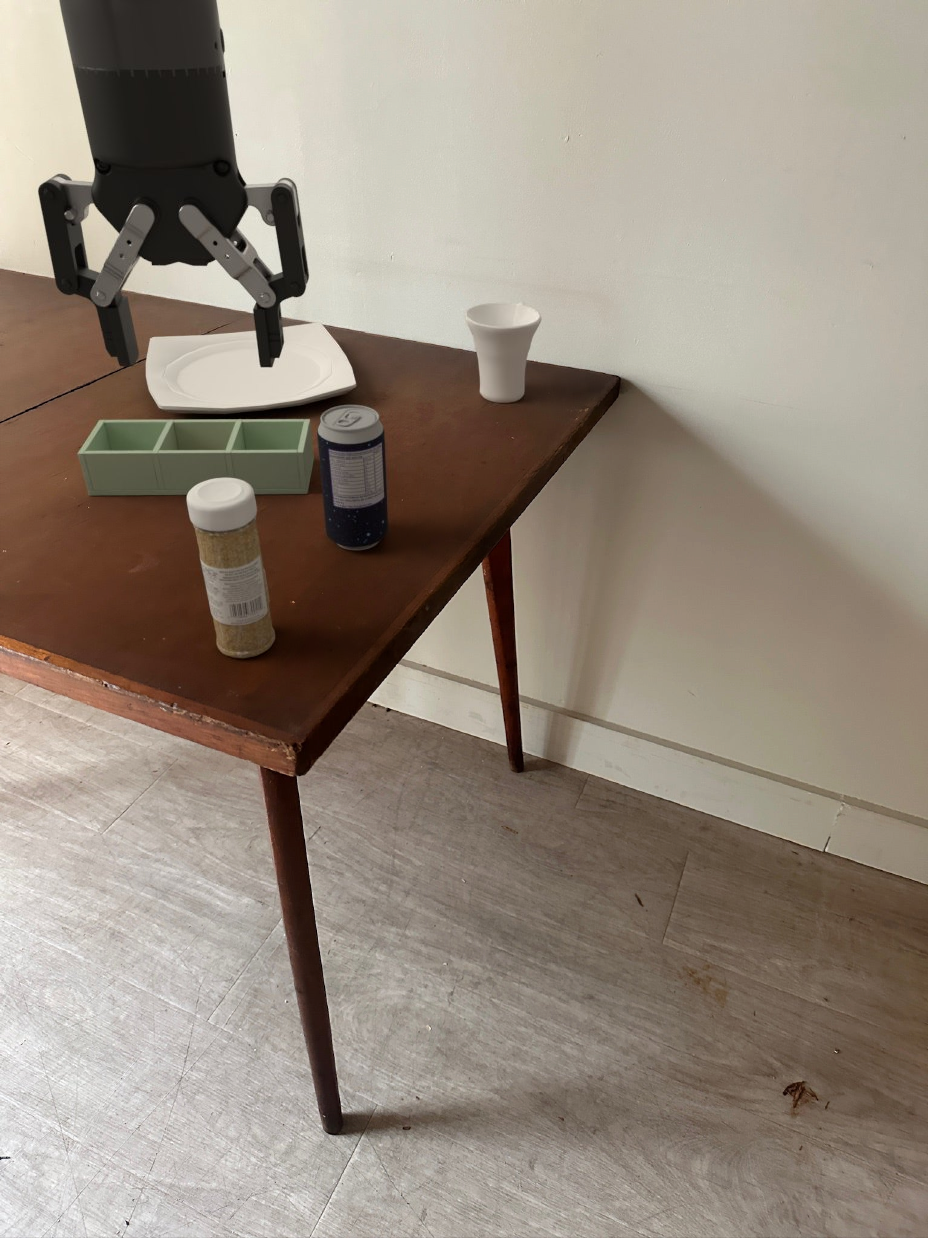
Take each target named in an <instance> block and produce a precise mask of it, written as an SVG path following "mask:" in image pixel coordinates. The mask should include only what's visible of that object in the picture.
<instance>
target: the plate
mask: <svg viewBox="0 0 928 1238" xmlns="http://www.w3.org/2000/svg"><path fill="white" fill-rule="evenodd" d="M283 335H284V345H283V348H282V351H281V354H280V358H275V360H274V364H273V367H260V362H259V354H258V346H257V338H256V330H249V331H238V332H226V333H225V332H224V333H214V334H213V333H212V334H199V335H197V334H196V335H172V336H169V335H168V336H153V337H151V338H149V343H148V349H147V354H146V359H145V380H146V384H147V388H148V392H149V393H150V395H151V398H152V399H153V400H154V402H155V403H156V405H157V407H158V409H161V410H162V411H164V412H167V413H169V414H203V415H204V414H205V415H206V414H209V415H227V414H237V413H247V412H248V413H249V412H263V411H268V410H274V409H282V408H283V409H284V408H289V407H291V408H292V407H297V406H303V405H307V404H312V403H315V402H319V401H323V400H327V399H331V398H334V397H337V396H338V397H339V396H343V395H347V394H348V393H349V392H351V391H352V390H354V389H355V388H356V387H357V382H356V378H355V375H354V370H353V367H352V365H351V363H350V361H349V359H348V357H347V355H346V353H345V352H344V351H343V349H342V348H341V346H340V345H339V344H338V342H337V341H336V340H335V338H334V337H333V336H332V335H331V334H330V333H329V331H328V330H327V329H326V328H325V326H324V325H323V324H322V323H321V322H311V323H303V324H297V325H289V326H284V327H283Z"/></svg>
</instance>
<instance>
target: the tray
mask: <svg viewBox="0 0 928 1238" xmlns="http://www.w3.org/2000/svg"><path fill="white" fill-rule="evenodd" d="M313 444H314V443H313V436H312V425H311V419H310V418H285V419H284V418H271V419H270V418H262V419H261V418H258V419H257V418H256V419H253V418H252V419H250V418H246V419H242V418H239V419H235V418H234V419H231V418H229V419H225V418H224V419H221V418H220V419H218V418H217V419H99V420H98V422H97V423H96V425H94V428H93V429H92V431H91V432H90V434H89V435H88V437H87V439H86V440H85V442H84V443H83V444H82V446H81V447H80V449H79V451H78V452H77V456H78V460H79V464H80V467H81V472H82V475H83V478H84V482H85V484H86V489H87V493H88V496H89V497H91V496H92V497H94V496H95V497H97V496H98V497H99V496H100V497H101V496H103V497H104V496H105V497H106V496H108V497H109V496H187V494H188V492H189V491H190V490H191V489H192V488H193V487H194V486H195V485H197V484H199V483H201V482H204V481H207V480H210V479H215V478H236V479H240V480H243V481H245V482H247V483H248V484H250V485H251V487H252V488H253V491H254V495H307V494H308V493H309V487H310V482H311V476H312V471H313V466H314V461H315V459H314V458H315V456H314V448H313V447H314V446H313Z"/></svg>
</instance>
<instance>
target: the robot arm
mask: <svg viewBox="0 0 928 1238" xmlns="http://www.w3.org/2000/svg"><path fill="white" fill-rule="evenodd" d="M217 1H218V0H58V3H59V6H60V12H61V17H62V22H63V26H64V30H65V36H66V41H67V45H68V50H69V55H70V61H71V64H72V69H73V74H74V79H75V83H76V88H77V92H78V96H79V102H80V106H81V111H82V116H83V120H84V125H85V130H86V134H87V135H86V136H87V139H88V144H89V148H90V154H91V157H92V161H93V166H94V177H93V181H86V180H85V181H84V180H73V179H72V178H71V177H70V176H69V175H67V174H65V173H57V174H55V175H54V176H52V177H50V178H49V179H47V180H46V181H44V182H42V183H41V184H40V185H39V186H38V189H37V194H38V199H39V204H40V209H41V214H42V220H43V225H44V230H45V236H46V240H47V246H48V250H49V255H50V262H51V266H52V272H53V276H54V281H55V285H56V288H57V289H58V291H59V292H60V293H62V294H63V295H66V296H73V295H77V296H79V297H82V298H85V299H87V300H89V301H90V302H91V303H92V304H93V305H94V307H95V309H96V313H97V317H98V322H99V326H100V330H101V332H102V339H103V342H104V343H103V344H104V348H105V350H106V351H107V353H108V355H109V356H110V358H116V359H117V362H118V365H119V367H134V366H135V364H136V363H137V361H138V360H139V357H140V351H139V345H138V341H137V340H138V339H137V335H136V331H135V325H134V322H133V317H132V312H131V306H130V303H129V297H128V296H127V295H126V296H125V295H123V294H122V293H123V292H122V290H123V288H124V286H125V285H126V282H127V281H128V279H129V277H130V276H131V274H132V272H133V271H134V268H135V267H136V265H137V264H138V263H139V260H140V259H143V260H145V261H147V262H150V264H151V266H154V267H155V266H156V267H157V266H158V267H160V266H161V267H162V266H163V267H165V266H169V265H172V264H173V265H174V264H176V263H180V264H181V263H182V264H184V265H189V266H192V267H207V266H208V265H209V264H210V263H213V262H215V261H216V262H217V263H218V264H219V265H220V266H221V267H222V268H223V270H224V271H225V272H226V273H227V274H228V276H230V277H231V278H232V279H233V280H235V281H237V282H238V283H239V284H240V285H241V286H242V287H243V288H244V290H245V291H246V292H247V293H248V294H249V295H250V297H251V298H252V299H253V300H254V301H255V304H254V306H253V308H252V313H253V321H254V329H255V330H254V331H256V338H257V346H258V354H259V362H260V367H273V364H274V360H275V358H280V354H281V351H282V348H283V345H284V335H283V316H282V315H283V314H282V306H281V303H282V302H284V301H285V300H288V299H290V298H291V299H292V298H300V297H302V296H304V294H305V292H306V289H307V284H308V282H309V279H310V271H309V264H308V257H307V251H306V243H305V237H304V236H305V235H304V229H303V222H302V215H301V208H300V203H299V202H300V201H299V194H298V188H297V184H296V183H295V181H294V180H292V179H291V178H289V177H281V178H280V179H279V180H278V181H277V182H271V183H270V182H269V183H253V184H250V183H249V184H247V182H246V181H245V179H244V177H243V176H242V173H241V172H240V170H239V166H238V161H237V153H236V145H235V138H234V137H235V135H234V130H233V129H234V128H233V121H232V112H231V106H230V97H229V89H228V79H227V72H226V63H225V52H226V47H225V38H224V31H223V29H222V27H221V21H220V13H219V9H218V2H217ZM92 204H93V205H94V207H95V208H96V210H97V211H98V212H99V213H100V214H101V216H103V217H104V219H105V220H106V221H107V222H108V223H109V225H111V226H112V227H113V229H114V230H115V232H117V234H118V236H117V238H116V240H115V242H114V243H113V246H112V248H111V250H110V251H109V253H108V255H107V257H106V259H105V261H104V263H103V267H102V268H101V270H100V271H96V270H93V269H90V267H89V263H88V262H89V261H88V256H87V255H88V254H87V250H86V244H85V239H84V233H83V228H82V227H83V226H82V223H83V221H84V220H86V219H87V218H88V216H89V213H90V205H92ZM249 207H253V208H255V209H256V210H257V211H258V212H259V214H260V217H261V220H262V221H263V222H264V223H265V224H266V225H267V226H269V227H274V228H275V234H276V235H275V236H276V240H277V247H278V253H279V259H280V266H281V271H280V272H278V273H275V274H274V273H273V271H271V269H270V268H269V267H268V266H267V264H266V263H265V262H264V261H263V260H262V259H261V258H260V256H259V253H258V251H257V249H256V248H255V246H253V244H252V243H251V242H250V240H249V239H248V238H247V237H246V236H245V234H244V233H243V232H242V231H241V230H240V229H239V228H238V226H239V224H240V222H241V221H242V219H243V218H244V215H245V214H246V212H247V211H248V209H249Z"/></svg>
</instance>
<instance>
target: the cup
mask: <svg viewBox="0 0 928 1238" xmlns="http://www.w3.org/2000/svg"><path fill="white" fill-rule="evenodd" d="M464 318H465V322H466V324H467V326H468V329H469V331H470V334H471V335H472V339H473V344H474V349H475V352H476V356H477V362H478V372H479V373H478V374H479V394H480V396H482V398H483V399H485V400H487V401H490V402H494V403H499V404H500V403H501V404H508V403H515V402H517V401H519V400H521V399H522V398H524V395H525V391H526V390H525V388H526V386H525V383H526V381H525V380H526V368H527V367H526V366H527V361H528V356H529V353H530V349H531V346H532V342H533V338H534V336H535V334H536V332H537V330H538V328H539V326H540V324H541V322H542V315H541V313H540V312H539V311H537V309H535V308H533V307H530V306H528V305H526V304H525V302H523V301H520V302H518V303H513V302H488V303H480V304H477V305H474V306H471V307H469V308H468V309H467V310H466V312H465V315H464Z"/></svg>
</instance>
